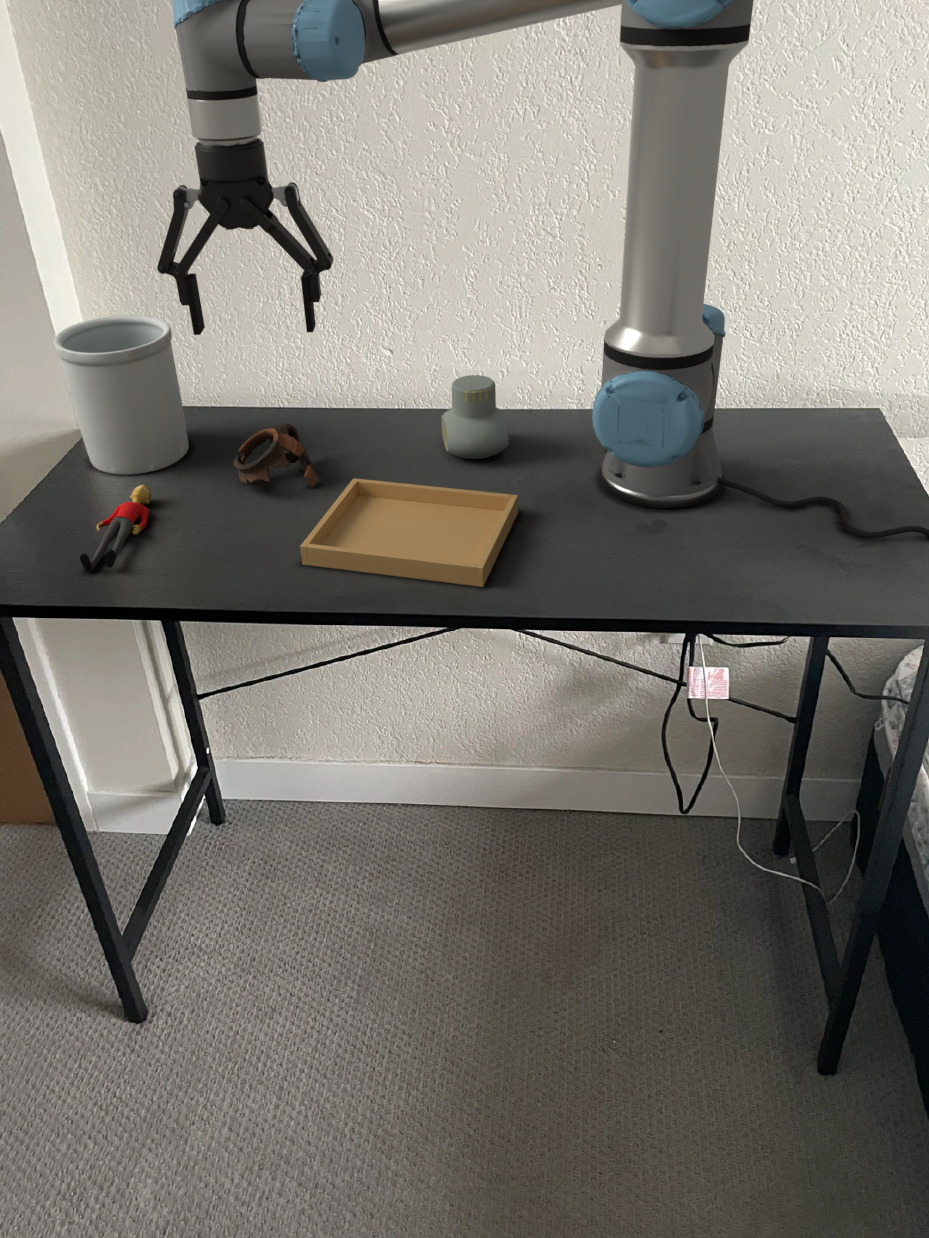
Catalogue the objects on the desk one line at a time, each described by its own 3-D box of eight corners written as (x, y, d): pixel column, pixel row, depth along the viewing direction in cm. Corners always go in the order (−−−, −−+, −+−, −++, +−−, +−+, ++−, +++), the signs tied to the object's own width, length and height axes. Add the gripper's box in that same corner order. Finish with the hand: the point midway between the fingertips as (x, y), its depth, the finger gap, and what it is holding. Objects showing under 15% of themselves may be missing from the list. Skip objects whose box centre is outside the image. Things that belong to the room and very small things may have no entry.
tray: (518, 512, 127) (518, 495, 126) (483, 587, 113) (482, 568, 112) (355, 495, 132) (353, 478, 131) (302, 564, 118) (299, 546, 117)
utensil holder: (179, 477, 138) (153, 350, 128) (70, 478, 138) (36, 353, 128) (204, 431, 150) (182, 313, 140) (104, 433, 150) (75, 315, 140)
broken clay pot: (316, 501, 132) (277, 457, 127) (259, 524, 136) (219, 482, 131) (330, 441, 140) (294, 397, 135) (275, 464, 144) (238, 423, 138)
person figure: (74, 540, 115) (126, 468, 130) (72, 568, 118) (123, 494, 132) (119, 552, 116) (166, 479, 131) (116, 580, 118) (162, 505, 133)
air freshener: (511, 465, 138) (511, 395, 132) (450, 470, 137) (447, 400, 132) (497, 432, 147) (497, 365, 141) (440, 437, 146) (438, 370, 141)
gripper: (345, 130, 115) (360, 317, 127) (124, 136, 115) (160, 322, 127) (338, 142, 109) (355, 338, 121) (105, 148, 109) (144, 342, 121)
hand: (255, 330), depth 124 cm, fingers open, 13 cm apart
